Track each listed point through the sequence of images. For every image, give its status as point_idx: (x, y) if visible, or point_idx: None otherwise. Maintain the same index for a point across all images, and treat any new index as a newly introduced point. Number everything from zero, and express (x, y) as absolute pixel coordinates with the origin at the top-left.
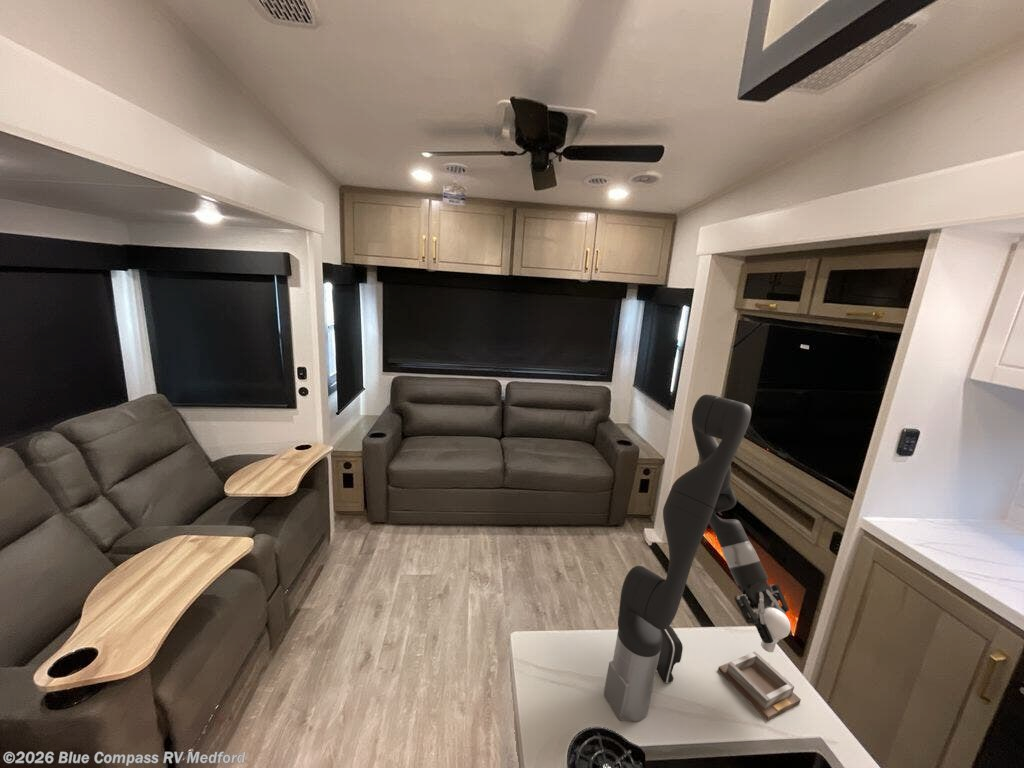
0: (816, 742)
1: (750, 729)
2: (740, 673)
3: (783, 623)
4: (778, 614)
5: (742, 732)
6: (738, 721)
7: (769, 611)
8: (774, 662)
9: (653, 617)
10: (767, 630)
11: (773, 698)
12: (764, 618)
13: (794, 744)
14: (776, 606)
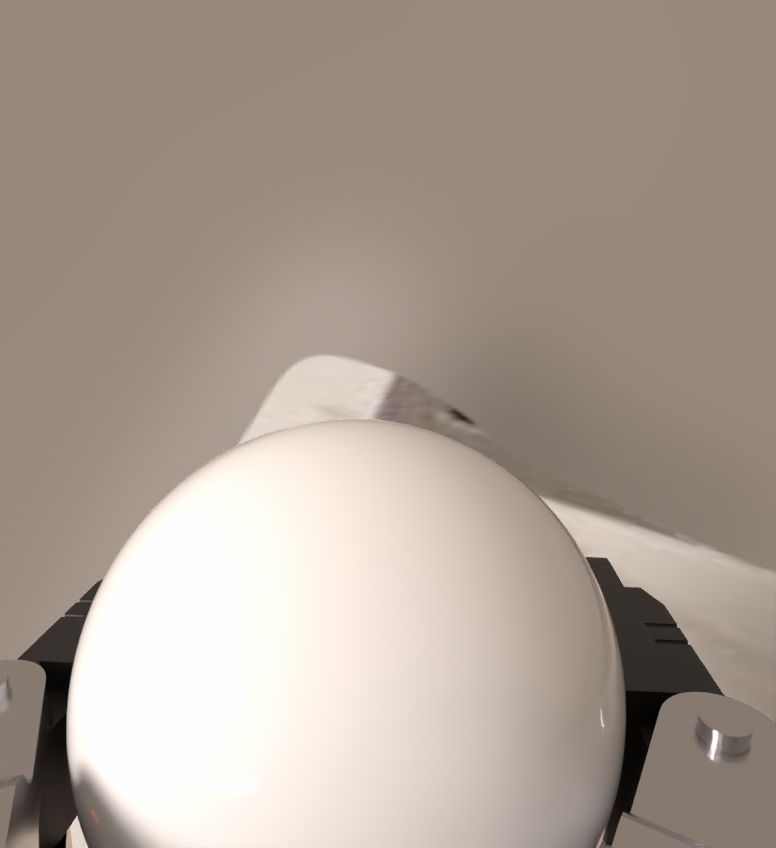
0: None
1: (684, 588)
2: None
3: (430, 437)
4: (394, 541)
5: (744, 595)
6: (721, 642)
7: (479, 756)
8: None
9: None
10: (624, 630)
11: None
12: (623, 757)
13: (520, 466)
14: (15, 823)
